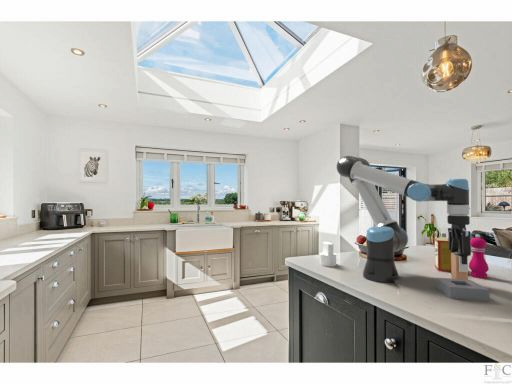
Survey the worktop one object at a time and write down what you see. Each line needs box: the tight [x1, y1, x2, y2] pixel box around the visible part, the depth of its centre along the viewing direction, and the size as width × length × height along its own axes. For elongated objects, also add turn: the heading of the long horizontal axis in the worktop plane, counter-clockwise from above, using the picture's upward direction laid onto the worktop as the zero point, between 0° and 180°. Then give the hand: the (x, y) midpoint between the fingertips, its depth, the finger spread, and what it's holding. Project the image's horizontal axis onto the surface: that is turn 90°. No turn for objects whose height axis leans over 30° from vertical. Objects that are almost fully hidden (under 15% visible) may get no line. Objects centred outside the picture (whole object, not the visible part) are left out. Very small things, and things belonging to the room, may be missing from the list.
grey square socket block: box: [435, 277, 490, 302], centre depth 100 cm, size 12×12×5 cm
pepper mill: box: [468, 233, 489, 279], centre depth 126 cm, size 7×7×20 cm
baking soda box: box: [434, 237, 452, 273], centre depth 139 cm, size 10×6×16 cm
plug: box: [450, 252, 469, 280], centre depth 112 cm, size 4×4×14 cm
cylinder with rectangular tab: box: [319, 241, 337, 267], centre depth 149 cm, size 9×9×12 cm
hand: (459, 269), depth 112 cm, fingers open, 5 cm apart
